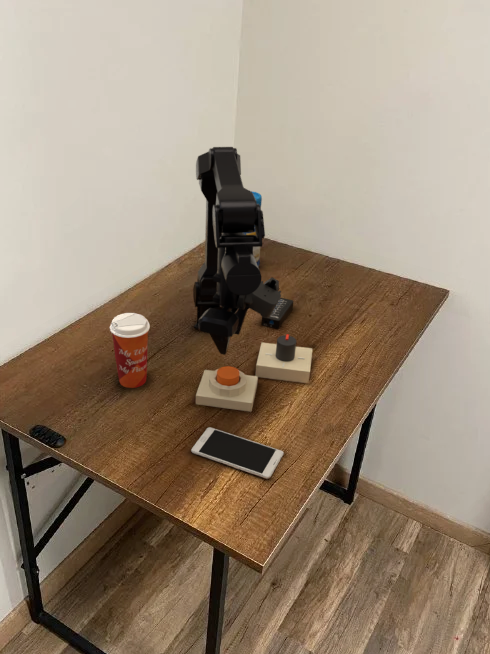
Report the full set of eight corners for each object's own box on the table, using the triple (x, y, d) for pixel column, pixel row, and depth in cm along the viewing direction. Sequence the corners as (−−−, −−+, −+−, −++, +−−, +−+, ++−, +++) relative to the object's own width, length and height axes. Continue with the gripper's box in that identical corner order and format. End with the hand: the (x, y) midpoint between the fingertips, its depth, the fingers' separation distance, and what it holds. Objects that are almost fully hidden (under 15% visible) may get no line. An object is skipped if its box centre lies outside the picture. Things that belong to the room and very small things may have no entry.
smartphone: (208, 426, 116) (284, 451, 111) (208, 428, 117) (284, 453, 111) (189, 450, 111) (269, 478, 105) (189, 453, 111) (269, 480, 106)
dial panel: (255, 377, 131) (256, 364, 129) (260, 353, 138) (261, 341, 136) (308, 383, 129) (310, 371, 127) (310, 360, 137) (312, 347, 135)
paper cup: (122, 395, 125) (117, 335, 117) (108, 375, 130) (103, 316, 123) (158, 385, 128) (156, 325, 120) (143, 365, 134) (140, 308, 126)
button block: (195, 404, 123) (195, 388, 121) (204, 378, 130) (204, 362, 128) (251, 412, 121) (252, 395, 119) (257, 385, 129) (258, 369, 126)
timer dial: (293, 362, 130) (295, 345, 128) (274, 360, 131) (276, 342, 128) (295, 352, 133) (297, 335, 131) (276, 350, 134) (278, 332, 131)
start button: (214, 384, 122) (215, 377, 121) (218, 372, 126) (219, 364, 125) (237, 387, 122) (237, 380, 121) (240, 374, 125) (241, 367, 124)
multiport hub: (293, 308, 155) (294, 300, 154) (278, 329, 147) (279, 320, 146) (276, 304, 157) (277, 296, 155) (260, 324, 148) (261, 316, 147)
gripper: (262, 300, 101) (256, 379, 109) (292, 255, 115) (284, 328, 124) (197, 287, 104) (196, 365, 113) (234, 245, 118) (230, 317, 127)
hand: (230, 343), depth 119 cm, fingers open, 7 cm apart
